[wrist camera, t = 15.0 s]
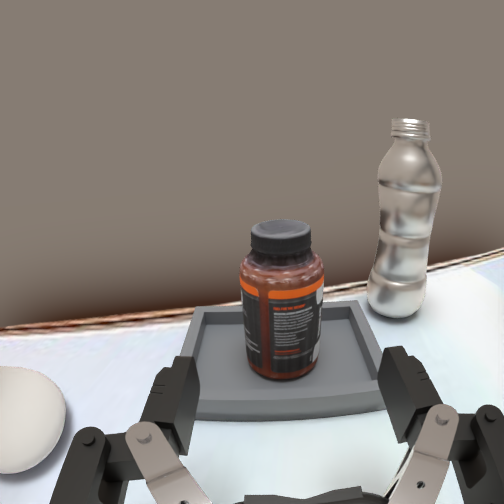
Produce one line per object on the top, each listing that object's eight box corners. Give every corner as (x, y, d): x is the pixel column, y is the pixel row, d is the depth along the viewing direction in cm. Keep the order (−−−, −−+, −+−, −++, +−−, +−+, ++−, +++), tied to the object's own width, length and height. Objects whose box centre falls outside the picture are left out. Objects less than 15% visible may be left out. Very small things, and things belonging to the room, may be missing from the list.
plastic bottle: (358, 295, 35) (367, 117, 27) (410, 293, 34) (426, 123, 27) (371, 328, 29) (388, 116, 21) (429, 323, 28) (456, 125, 21)
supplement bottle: (333, 359, 24) (345, 227, 20) (278, 395, 21) (276, 251, 17) (286, 328, 29) (284, 210, 24) (232, 355, 26) (219, 227, 21)
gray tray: (354, 320, 31) (357, 300, 30) (389, 408, 19) (397, 386, 18) (199, 326, 31) (195, 306, 30) (174, 418, 20) (166, 397, 19)
